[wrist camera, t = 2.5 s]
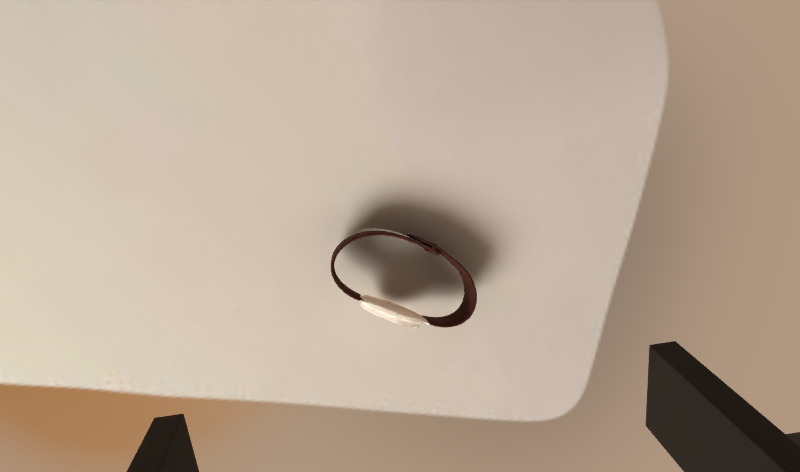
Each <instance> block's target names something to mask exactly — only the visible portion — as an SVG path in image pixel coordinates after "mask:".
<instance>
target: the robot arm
mask: <svg viewBox="0 0 800 472" xmlns="http://www.w3.org/2000/svg"><path fill="white" fill-rule="evenodd" d="M646 426H647V428H648V429H649V430H650V431H651V432H652V434H653V435H654V436H655V437H656V438H657V440H658V441H659V442H660V443H661V444H662V446H663V447H664V448H665V449H666V450H667V452H668V453H669V454H670V455H671V456H672V458H673V459H674V460H675V461H676V462H677V464H678V465H679V466H680V467H681V468H682V470H683V471H684V472H800V432H798V433H792V434H784V433H783V432H782V431H781V430H780V429H778V428H777V427H776V426H775V425H773V424H772V423H771V422H770V421H769V420H767V418H765V417H764V416H763V415H762V414H761V413H759V412H758V411H757V410H756V409H754V407H752V406H751V405H750V404H749V403H748V402H746V401H745V400H744V399H743V398H742V397H740V396H739V395H738V394H737V393H736V392H734V391H733V390H732V389H731V388H730V387H728V386H727V385H726V384H725V383H724V382H723V381H721V380H720V379H719V378H718V377H717V376H716V375H714V374H713V373H712V372H711V371H710V370H709V369H707V368H706V367H705V366H704V365H703V364H701V363H700V362H699V361H698V360H697V359H696V358H694V357H693V356H692V355H691V354H689V353H688V352H687V351H686V350H685V349H684V348H683V347H681V346H680V345H679V344H678V343H677V342H668V343H661V344H654V345H650V348H649V368H648V390H647V411H646ZM127 472H199V470H198V466H197V463H196V459H195V455H194V451H193V448H192V444H191V440H190V436H189V433H188V429H187V425H186V422H185V418H184V415H183V414H179V415H172V416H165V417H158V418H154V420H153V422H152V424H151V426H150V428H149V430H148V432H147V434H146V435H145V437H144V439H143V441H142V443H141V445H140V447H139V449H138V451H137V453H136V455H135V457H134V459H133V461H132V463H131V465H130V467H129V468H128V471H127Z"/></svg>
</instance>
